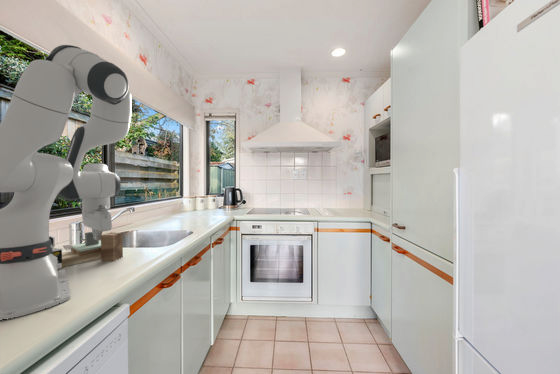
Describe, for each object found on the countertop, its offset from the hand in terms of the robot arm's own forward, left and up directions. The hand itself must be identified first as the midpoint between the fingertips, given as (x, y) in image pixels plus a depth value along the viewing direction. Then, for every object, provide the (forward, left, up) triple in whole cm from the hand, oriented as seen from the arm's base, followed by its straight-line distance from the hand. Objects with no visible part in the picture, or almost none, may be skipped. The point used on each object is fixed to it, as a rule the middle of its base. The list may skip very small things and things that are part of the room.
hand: (97, 239), depth 99 cm
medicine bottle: (+1, +16, -8) cm, 18 cm away
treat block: (-5, -3, -8) cm, 10 cm away
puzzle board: (+6, +4, -8) cm, 10 cm away
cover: (+6, 0, -3) cm, 7 cm away
